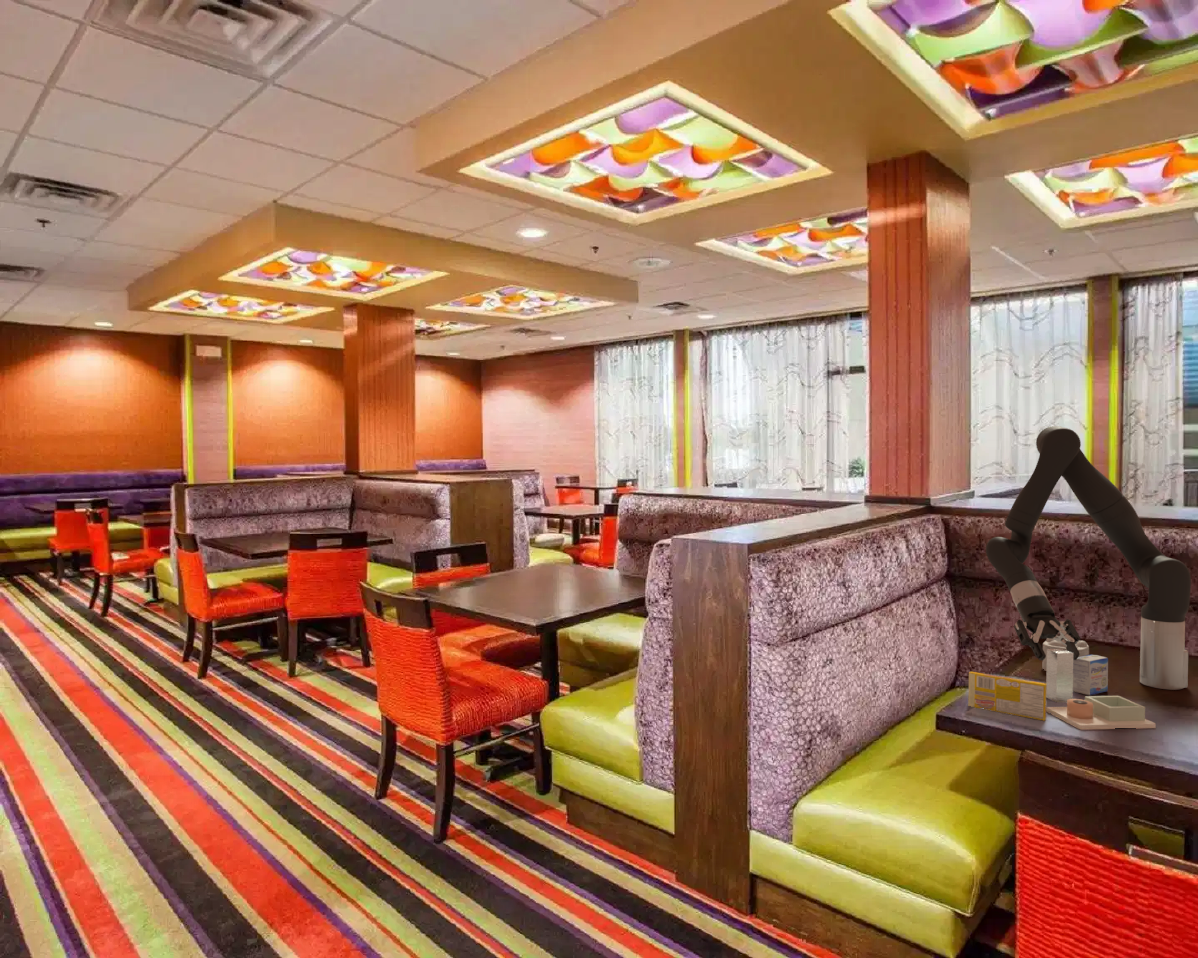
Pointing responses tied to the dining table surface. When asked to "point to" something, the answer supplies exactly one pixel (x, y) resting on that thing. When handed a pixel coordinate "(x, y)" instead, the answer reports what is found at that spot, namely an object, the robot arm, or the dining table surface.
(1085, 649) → the lumpy-topped squat cylinder
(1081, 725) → the organizer
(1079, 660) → the medicine box
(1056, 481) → the robot arm
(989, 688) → the candy box
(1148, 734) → the dining table surface
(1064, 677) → the plain beige rectangular box
